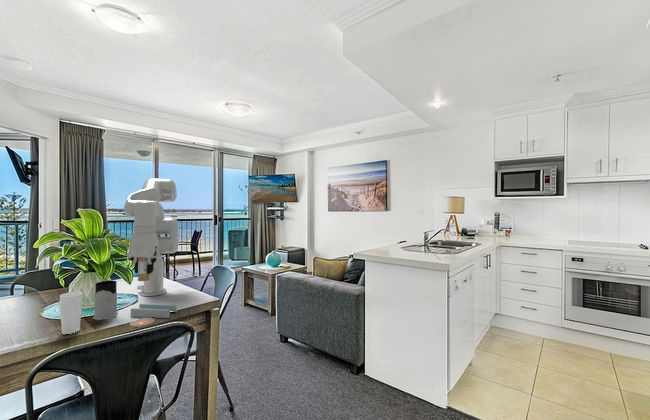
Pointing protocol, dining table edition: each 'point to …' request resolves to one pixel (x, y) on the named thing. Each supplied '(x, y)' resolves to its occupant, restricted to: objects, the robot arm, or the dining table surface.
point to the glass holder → (105, 300)
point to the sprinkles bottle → (143, 269)
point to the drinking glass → (71, 311)
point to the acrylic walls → (153, 310)
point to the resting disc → (142, 322)
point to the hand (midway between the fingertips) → (143, 272)
